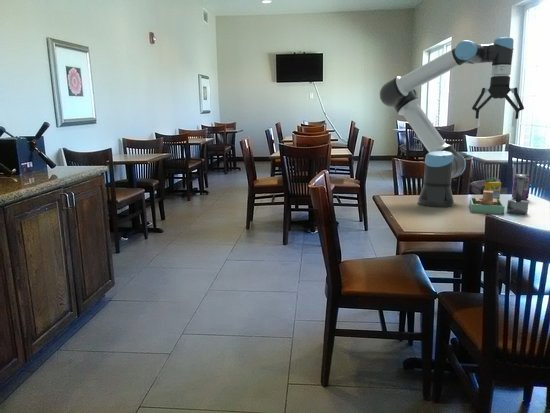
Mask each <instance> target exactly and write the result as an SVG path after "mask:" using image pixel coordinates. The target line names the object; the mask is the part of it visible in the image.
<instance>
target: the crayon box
mask: <svg viewBox="0 0 550 413" xmlns="http://www.w3.org/2000/svg"><path fill="white" fill-rule="evenodd" d="M484 183H485V184H484V191H493V199H499V200H500V198H501V197H500V196H501V190H502V188H501V187H502V182H501V181H497V177H496V176H495V177H485V182H484Z"/></svg>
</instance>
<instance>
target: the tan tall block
mask: <svg viewBox="0 0 550 413" xmlns="http://www.w3.org/2000/svg"><path fill="white" fill-rule="evenodd" d="M484 190H485V189H484ZM484 190H483V193H482V197H474V198H475V204H479V205H494V206H497V205H498V201H497V200H496V199H493V191H484Z"/></svg>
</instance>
